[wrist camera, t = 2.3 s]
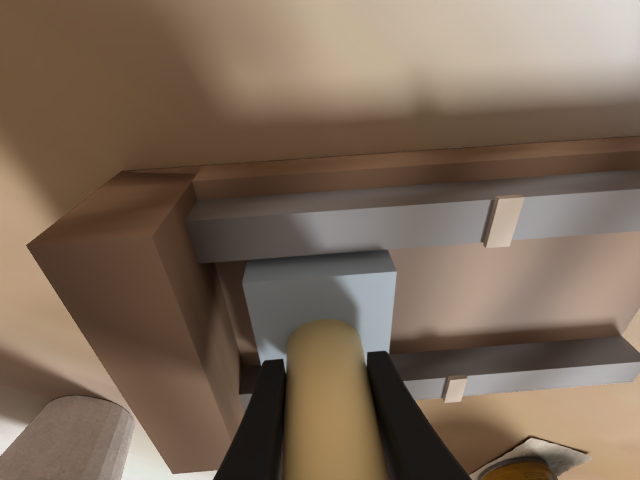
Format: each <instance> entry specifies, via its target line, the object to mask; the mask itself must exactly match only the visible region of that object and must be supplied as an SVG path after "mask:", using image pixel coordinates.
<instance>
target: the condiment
mask: <svg viewBox="0 0 640 480" xmlns="http://www.w3.org/2000/svg"><path fill="white" fill-rule="evenodd" d="M529 453H530V454H529ZM524 454H525V455H524ZM592 458H593V457H591V456H588V455H586V454H584V453H581V452H578V451H574V450H572V449H570V448H567V447H563V446H560V445H558V444H557V443H556V444H552V443H548V442H546V441H543V440H538V439H534V438H530V439H529V440H527V441H526V442H525V443H523V444H522V445H519V446H517V447H516V448H515V449H514V450H513V451H511V452H508V453H506V454H505V455H504V456H503V457H500V458H498V459H497V460H494V461H492V462H490V463H488V464H486V465H485V466H483V467H482V468H481V469H479V470H477V471H476V472H474V473H472V474H470V475H469V476H470V478H471V479H472V480H558V479H557V476H560V475H561V474H562V473H563V472H565V471H568V470H569V469H570V468H573V467H575V466H577V465H581V464H584V463H585V462H587V461H588V460H590V459H592Z"/></svg>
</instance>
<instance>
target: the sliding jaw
mask: <svg viewBox="0 0 640 480" xmlns="http://www.w3.org/2000/svg"><path fill="white" fill-rule="evenodd" d="M396 275H397V271H396V268H395V266H394V263H393V261H392V259H391V256H390V254H389V251H388V250H374V251H361V252H347V253H334V254H320V255H307V256H293V257H279V258H266V259H252V260H247V264H246V268H245V272H244V277H243V281H242V285H243V289H244V293H245V298H246V302H247V306H248V311H249V315H250V319H251V324H252V328H253V332H254V336H255V341H256V345H257V349H258V354H259V358H260V362H261V366H262V363H263V362H264V361H265V360H274V359H283V360H284V366H285V372H286V386H285V412H284V439H283V467H282V480H390V478H389V474H388V469H387V464H386V459H385V454H384V449H383V444H382V439H381V434H380V430H379V425H378V420H377V415H376V410H375V405H374V400H373V396H372V391H371V386H370V381H369V376H368V371H367V352H374V351H386V352H388V354H389V348H390V337H391V327H392V316H393V306H394V296H395V285H396Z"/></svg>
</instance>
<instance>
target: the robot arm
mask: <svg viewBox="0 0 640 480" xmlns="http://www.w3.org/2000/svg"><path fill="white" fill-rule="evenodd" d="M367 371H368V376H369V381H370V386H371V391H372V396H373V400H374V405H375V410H376V415H377V420H378V425H379V430H380V434H381V439H382V444H383V449H384V454H385V459H386V464H387V469H388V474H389V478H390V480H472V479H471V478H470V476H469V475H468V474H467V473H466V471H465V470H464V469H463V468H462V466H461V465H460V464H459V463H458V461H457V460H456V459H455V457H454V456H453V455H452V453H451V452H450V451H449V449H448V448H447V447H446V445H445V444H444V443H443V441H442V440H441V439H440V437H439V436H438V434H437V433H436V432H435V430H434V429H433V427H432V426H431V424H430V423H429V422H428V420H427V419H426V417H425V416H424V414H423V413H422V411H421V409H420V408H419V406H418V405H417V403H416V402H415V400H414V399H413V397H412V395H411V394H410V392H409V391H408V389H407V387H406V386H405V384H404V382H403V380H402V379H401V377H400V375H399V373H398V371H397V370H396V368H395V366H394V364H393V362H392V360H391V358H390V356H389V354H388V352H386V351H374V352H367ZM285 386H286V372H285V366H284V360H283V359H274V360H265V361H264V362H263V363H262V366H261V370H260V373H259V376H258V379H257V382H256V385H255V388H254V391H253V394H252V396H251V399H250V401H249V404H248V406H247V409H246V411H245V414H244V416H243V418H242V421H241V423H240V425H239V428H238V430H237V432H236V434H235V436H234V439H233V441H232V443H231V445H230V447H229V449H228V451H227V453H226V455H225V457H224V459H223V461H222V463H221V465H220V467H219V469H218V471H217V473H216V475H215V477H214V479H213V480H282V467H283V439H284V412H285Z"/></svg>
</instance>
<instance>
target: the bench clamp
mask: <svg viewBox="0 0 640 480" xmlns="http://www.w3.org/2000/svg"><path fill="white" fill-rule="evenodd" d="M26 246H27V248H28V249H29V251H30V252H31V254H32V255H33V257H34V259H35V260H36V262H37V263H38V265H39V266H40V268H41V269H42V271H43V273H44V274H45V276H46V277H47V279H48V280H49V282H50V284H51V285H52V287H53V288H54V290H55V291H56V293H57V294H58V296H59V298H60V299H61V301H62V302H63V304H64V305H65V307H66V308H67V310H68V312H69V313H70V315H71V316H72V318H73V319H74V321H75V322H76V324H77V326H78V327H79V329H80V330H81V332H82V333H83V335H84V336H85V338H86V340H87V341H88V343H89V344H90V346H91V347H92V349H93V350H94V352H95V354H96V355H97V357H98V358H99V360H100V361H101V363H102V365H103V366H104V368H105V369H106V371H107V372H108V374H109V375H110V377H111V379H112V380H113V382H114V383H115V385H116V386H117V388H118V389H119V391H120V393H121V394H122V396H123V397H124V399H125V400H126V402H127V403H128V405H129V407H130V408H131V410H132V411H133V413H134V414H135V416H136V417H137V419H138V421H139V422H140V424H141V425H142V427H143V428H144V430H145V431H146V433H147V435H148V436H149V438H150V439H151V441H152V442H153V444H154V446H155V447H156V449H157V450H158V452H159V453H160V455H161V456H162V458H163V460H164V461H165V463H166V464H167V466H168V467H169V469H170V470H171V472H172V474H178V473H190V472H201V471H213V470H218V469H219V467H220V465H221V463H222V461H223V459H224V457H225V455H226V453H227V451H228V449H229V447H230V445H231V443H232V441H233V439H234V436H235V434H236V432H237V430H238V428H239V425H240V423H241V421H242V418H243V416H244V414H245V411H246V409H247V406H248V404H249V401H250V399H251V396H252V394H253V391H254V388H255V385H256V382H257V379H258V376H259V373H260V370H261V362H260V358H259V354H258V349H257V345H256V341H255V336H254V332H253V328H252V324H251V319H250V315H249V311H248V306H247V302H246V298H245V293H244V289H243V285H242V281H243V277H244V272H245V268H246V264H247V260H252V259H266V258H279V257H293V256H307V255H320V254H334V253H347V252H361V251H374V250H388V251H389V254H390V256H391V259H392V261H393V263H394V266H395V268H396V271H397V275H396V285H395V296H394V306H393V316H392V327H391V337H390V348H389V356H390V358H391V360H392V362H393V364H394V366H395V368H396V370H397V371H398V373H399V375H400V377H401V379H402V380H403V382H404V384H405V386H406V387H407V389H408V391H409V392H410V394H411V395H412V397H413V399H414V400H423V399H435V398H443V401H444V403H449V402H461V399H462V396H471V395H483V394H495V393H507V392H519V391H531V390H543V389H555V388H567V387H579V386H591V385H603V384H615V383H627V382H633V381H634V379H635V378H636V377H637V375H638V374H639V373H640V353H639V352H638V351H637V350H636V349H635V348H634V347H633V346H632V345H631V344H629V343H628V342H627V341H626V340H625V339H624V338H623V337H622V334H623V333H624V331H625V329H626V328H627V326H628V325H629V323H630V322H631V320H632V319H633V317H634V316H635V314H636V313H637V311H638V310H639V308H640V136H633V137H618V138H604V139H589V140H574V141H559V142H545V143H530V144H515V145H500V146H486V147H471V148H456V149H441V150H427V151H412V152H397V153H382V154H368V155H353V156H338V157H323V158H309V159H294V160H279V161H264V162H250V163H235V164H220V165H206V166H191V167H176V168H161V169H147V170H132V171H121V172H120V173H119V174H117V175H116V176H115V177H113V178H112V179H111V180H110V181H108V182H107V183H106V184H104V185H103V186H102V187H101V188H99V189H98V190H97V191H95V192H94V193H93V194H92V195H90V196H89V197H88V198H86V199H85V200H84V201H83V202H81V203H80V204H79V205H77V206H76V207H75V208H74V209H72V210H71V211H70V212H68V213H67V214H66V215H64V216H63V217H62V218H61V219H59V220H58V221H57V222H55V223H54V224H53V225H52V226H50V227H49V228H48V229H46V230H45V231H44V232H43V233H41V234H40V235H39V236H37V237H36V238H35V239H34V240H32V241H31V242H30V243H28V244H27V245H26Z"/></svg>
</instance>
